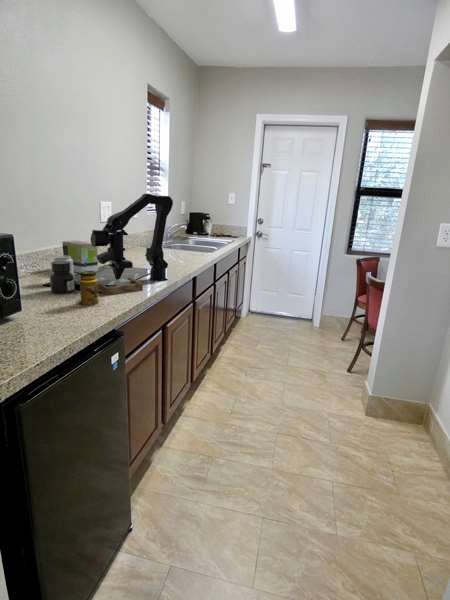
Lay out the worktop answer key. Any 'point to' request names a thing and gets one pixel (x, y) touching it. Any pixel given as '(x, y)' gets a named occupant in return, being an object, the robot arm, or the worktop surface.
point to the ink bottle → (61, 278)
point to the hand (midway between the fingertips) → (117, 280)
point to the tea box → (81, 255)
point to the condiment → (88, 290)
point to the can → (66, 258)
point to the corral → (121, 288)
